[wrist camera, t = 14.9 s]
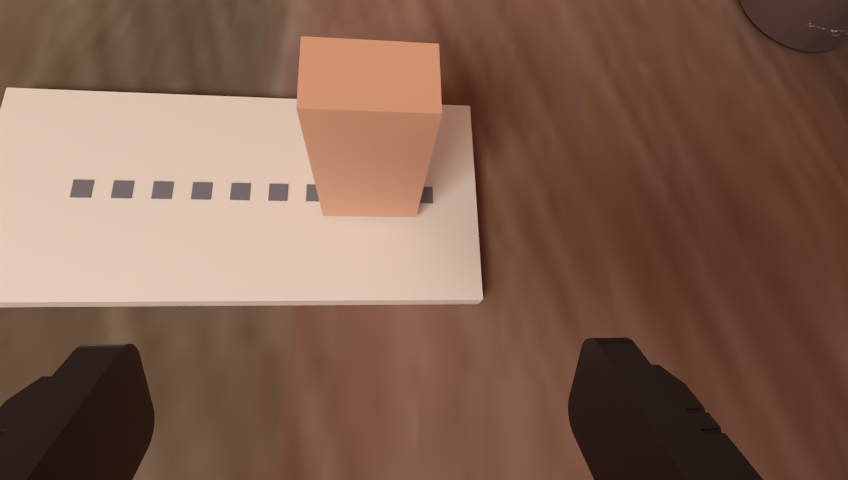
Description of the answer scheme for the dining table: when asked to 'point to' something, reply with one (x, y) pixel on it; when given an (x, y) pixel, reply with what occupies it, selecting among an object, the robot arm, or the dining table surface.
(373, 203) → the tall salmon pink block
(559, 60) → the dining table surface
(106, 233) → the board
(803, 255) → the dining table surface
